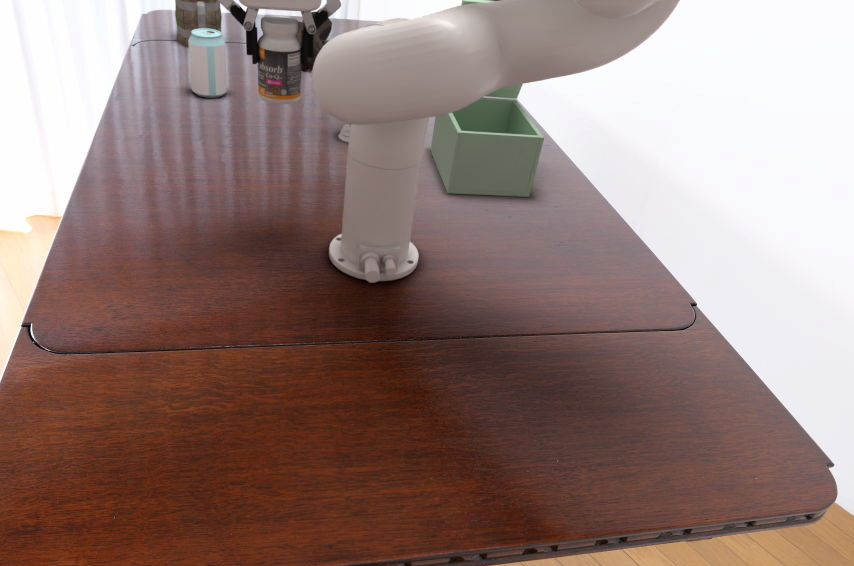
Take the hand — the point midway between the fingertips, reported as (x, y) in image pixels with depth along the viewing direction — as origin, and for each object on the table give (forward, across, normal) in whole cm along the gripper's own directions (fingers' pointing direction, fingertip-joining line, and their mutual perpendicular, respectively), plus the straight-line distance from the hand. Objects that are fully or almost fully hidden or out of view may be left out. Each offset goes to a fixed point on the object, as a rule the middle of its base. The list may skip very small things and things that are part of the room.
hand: (280, 60), depth 88 cm
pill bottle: (+5, 0, 0) cm, 5 cm away
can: (+22, -13, +53) cm, 59 cm away
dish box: (+24, +36, +18) cm, 47 cm away
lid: (+4, +36, +23) cm, 43 cm away
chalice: (+23, +14, +32) cm, 42 cm away
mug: (+22, -16, +86) cm, 90 cm away
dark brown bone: (+22, +9, +84) cm, 87 cm away
